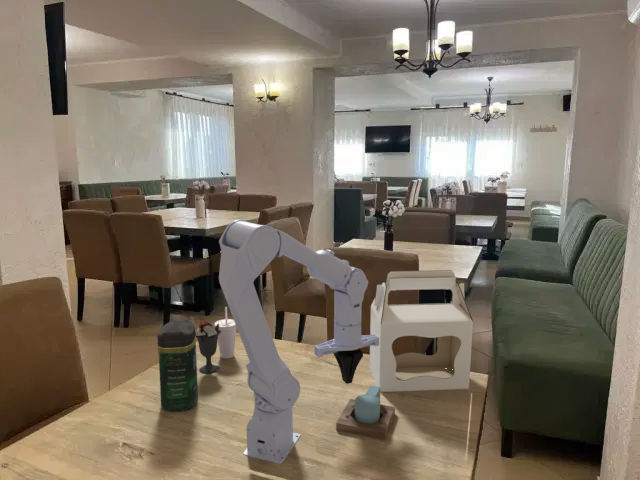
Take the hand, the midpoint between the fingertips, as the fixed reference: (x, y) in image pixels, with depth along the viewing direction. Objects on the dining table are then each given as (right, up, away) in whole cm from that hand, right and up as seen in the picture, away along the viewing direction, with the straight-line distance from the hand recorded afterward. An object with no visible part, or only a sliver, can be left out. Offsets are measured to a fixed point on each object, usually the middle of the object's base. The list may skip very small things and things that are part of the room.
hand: (347, 381), depth 100 cm
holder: (+4, -8, -3) cm, 9 cm away
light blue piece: (+5, -7, -2) cm, 9 cm away
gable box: (+18, -5, +16) cm, 25 cm away
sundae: (-35, -4, +21) cm, 41 cm away
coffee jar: (-38, -6, +5) cm, 39 cm away
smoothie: (-32, -2, +30) cm, 43 cm away
